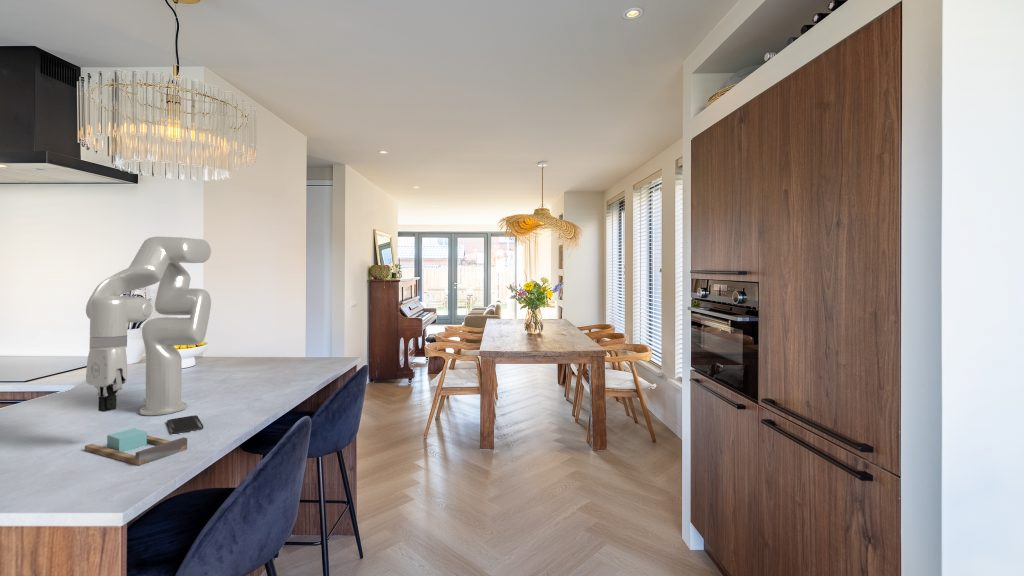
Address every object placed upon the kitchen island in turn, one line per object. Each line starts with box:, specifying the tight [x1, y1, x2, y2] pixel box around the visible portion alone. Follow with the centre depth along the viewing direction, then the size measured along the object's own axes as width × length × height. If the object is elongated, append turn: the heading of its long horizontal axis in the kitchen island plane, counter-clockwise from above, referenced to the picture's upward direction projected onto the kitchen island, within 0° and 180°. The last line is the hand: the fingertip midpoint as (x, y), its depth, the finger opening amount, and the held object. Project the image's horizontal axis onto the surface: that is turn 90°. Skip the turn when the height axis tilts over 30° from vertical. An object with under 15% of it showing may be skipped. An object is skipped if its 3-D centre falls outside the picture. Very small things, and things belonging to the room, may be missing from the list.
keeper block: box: [106, 427, 148, 453], centre depth 117 cm, size 6×6×4 cm
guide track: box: [84, 434, 188, 467], centre depth 115 cm, size 23×11×3 cm, turn 69°
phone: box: [166, 414, 204, 435], centre depth 134 cm, size 8×1×15 cm
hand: (107, 410), depth 119 cm, fingers closed
